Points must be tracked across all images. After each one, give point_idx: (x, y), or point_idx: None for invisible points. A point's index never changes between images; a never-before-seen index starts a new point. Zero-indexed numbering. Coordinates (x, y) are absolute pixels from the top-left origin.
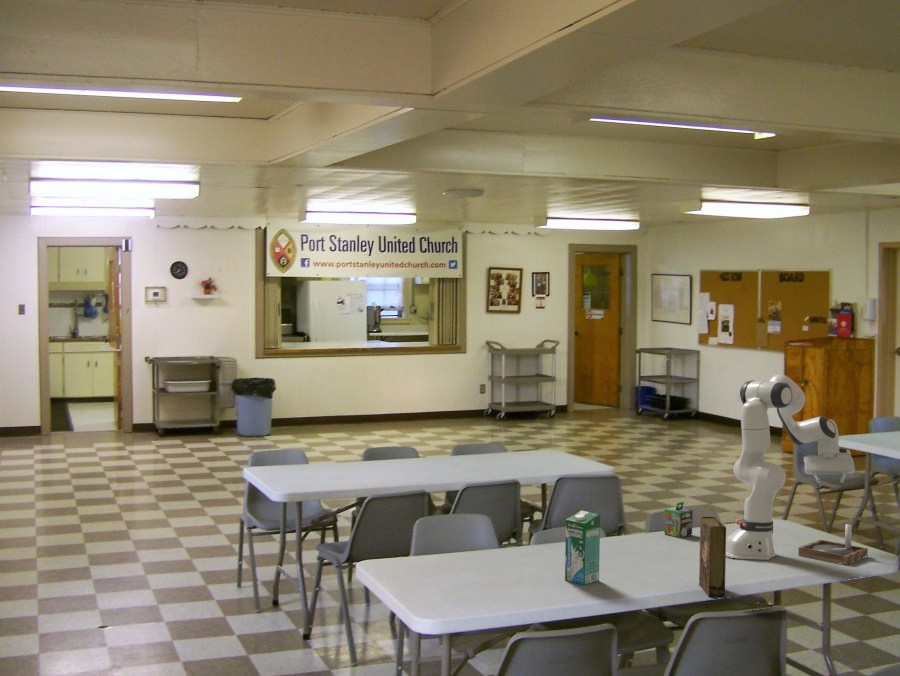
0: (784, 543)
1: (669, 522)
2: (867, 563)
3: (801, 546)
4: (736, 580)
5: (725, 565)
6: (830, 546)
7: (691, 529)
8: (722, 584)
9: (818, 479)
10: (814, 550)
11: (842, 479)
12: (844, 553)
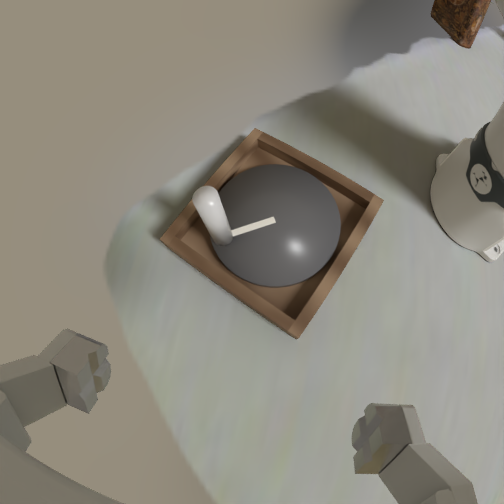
0: (405, 368)
1: None
2: (193, 175)
3: (375, 212)
4: (444, 54)
5: None
6: (276, 258)
7: None
8: (436, 7)
9: (394, 417)
10: (338, 173)
11: (70, 337)
12: (249, 176)
